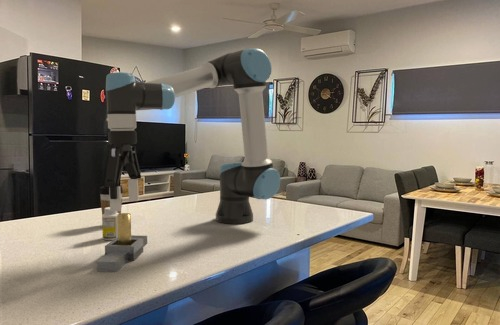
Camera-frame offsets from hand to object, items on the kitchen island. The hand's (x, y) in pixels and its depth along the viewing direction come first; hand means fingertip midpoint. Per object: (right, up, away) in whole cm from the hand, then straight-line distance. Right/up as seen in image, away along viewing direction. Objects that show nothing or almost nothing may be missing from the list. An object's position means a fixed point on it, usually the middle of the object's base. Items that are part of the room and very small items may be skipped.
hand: (125, 205), depth 108 cm
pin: (0, -14, +1) cm, 14 cm away
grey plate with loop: (0, -14, +1) cm, 14 cm away
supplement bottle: (-11, -13, +18) cm, 25 cm away
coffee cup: (-17, -12, +36) cm, 41 cm away
